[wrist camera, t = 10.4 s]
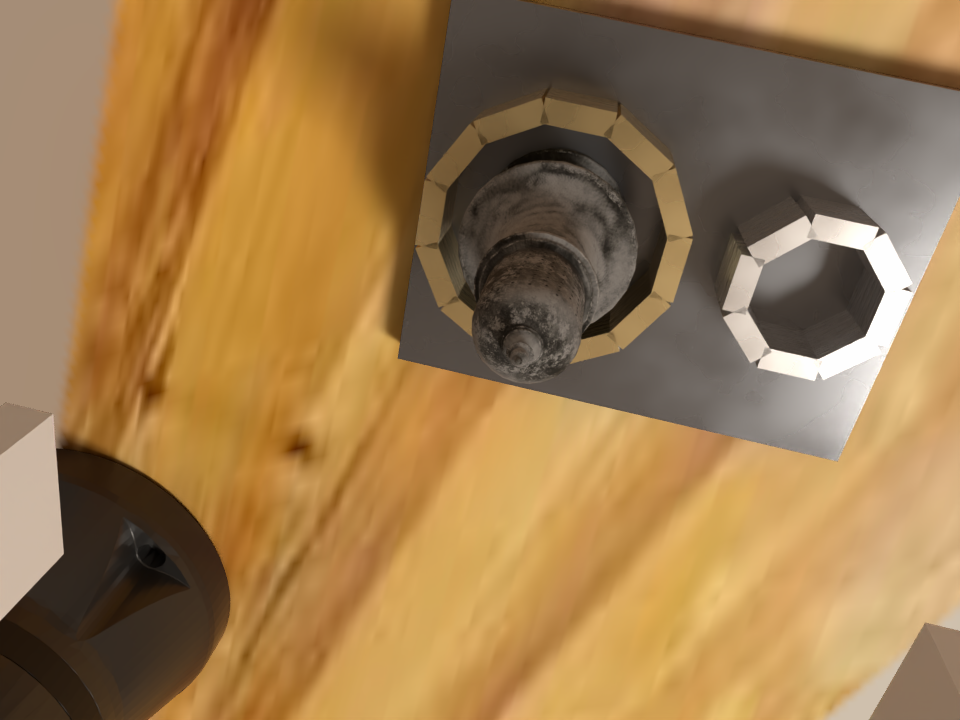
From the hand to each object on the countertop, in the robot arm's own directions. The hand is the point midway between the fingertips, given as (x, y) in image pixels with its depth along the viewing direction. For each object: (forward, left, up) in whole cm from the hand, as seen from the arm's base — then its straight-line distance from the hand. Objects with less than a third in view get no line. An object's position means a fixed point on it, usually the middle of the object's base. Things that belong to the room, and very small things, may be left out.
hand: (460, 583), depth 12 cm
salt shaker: (0, 0, -20) cm, 20 cm away
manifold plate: (+4, 0, -21) cm, 21 cm away
